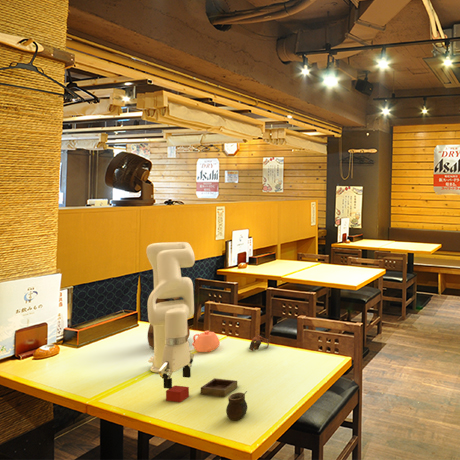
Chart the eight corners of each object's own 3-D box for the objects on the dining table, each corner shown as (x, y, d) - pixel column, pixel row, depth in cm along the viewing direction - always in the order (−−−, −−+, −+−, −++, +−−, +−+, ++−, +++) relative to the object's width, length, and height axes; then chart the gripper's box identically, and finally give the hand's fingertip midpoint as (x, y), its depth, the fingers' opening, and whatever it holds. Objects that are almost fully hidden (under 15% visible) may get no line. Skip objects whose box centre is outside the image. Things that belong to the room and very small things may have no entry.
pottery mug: (249, 346, 203) (257, 332, 205) (265, 353, 204) (272, 339, 206) (245, 349, 191) (253, 334, 193) (261, 356, 192) (269, 341, 194)
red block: (166, 400, 145) (165, 390, 144) (174, 394, 149) (174, 385, 149) (180, 402, 143) (180, 392, 143) (189, 396, 148) (188, 386, 148)
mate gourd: (230, 411, 138) (230, 385, 137) (251, 411, 138) (251, 385, 137) (222, 422, 130) (222, 395, 130) (244, 422, 131) (244, 395, 130)
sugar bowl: (212, 354, 190) (212, 335, 190) (185, 353, 191) (185, 334, 190) (224, 345, 203) (223, 327, 202) (199, 345, 203) (198, 327, 202)
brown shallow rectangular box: (200, 394, 150) (200, 387, 150) (214, 384, 158) (214, 378, 158) (224, 397, 148) (224, 390, 148) (237, 387, 156) (237, 380, 156)
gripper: (184, 332, 154) (185, 372, 155) (150, 347, 137) (151, 392, 138) (200, 333, 153) (201, 373, 153) (167, 348, 136) (168, 393, 136)
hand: (177, 382), depth 145 cm, fingers open, 9 cm apart
